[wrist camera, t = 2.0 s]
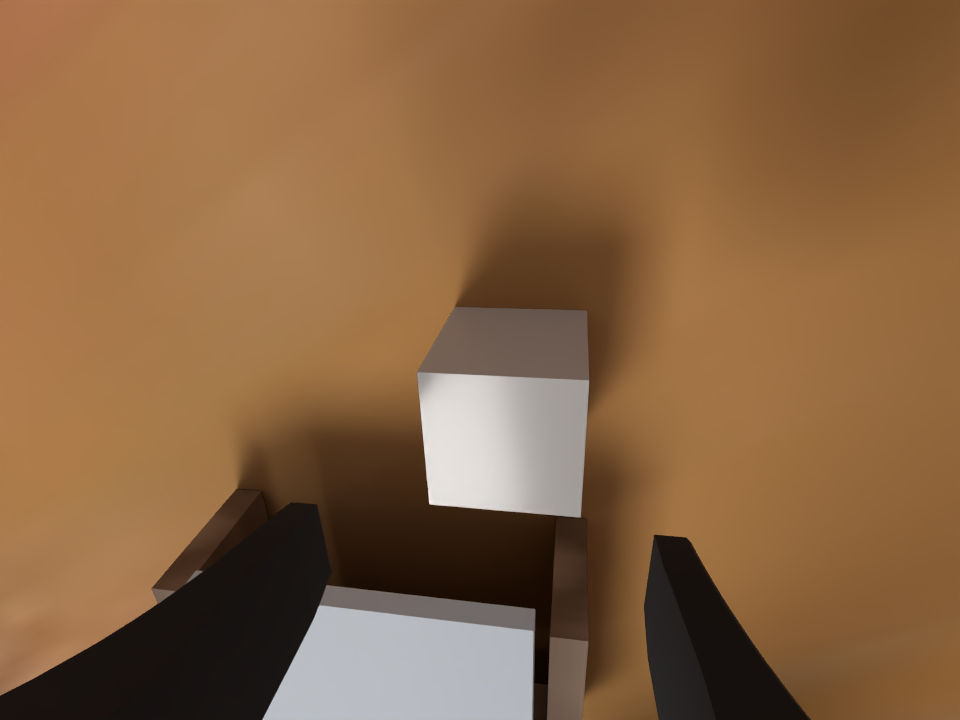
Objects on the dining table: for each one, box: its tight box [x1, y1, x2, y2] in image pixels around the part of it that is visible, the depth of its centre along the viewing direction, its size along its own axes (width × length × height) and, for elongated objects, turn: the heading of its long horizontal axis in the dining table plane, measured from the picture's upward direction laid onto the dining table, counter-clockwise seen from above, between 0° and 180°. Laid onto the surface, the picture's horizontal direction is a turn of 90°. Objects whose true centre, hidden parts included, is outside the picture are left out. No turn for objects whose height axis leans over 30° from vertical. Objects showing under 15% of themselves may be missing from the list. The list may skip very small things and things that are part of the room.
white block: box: [417, 307, 589, 518], centre depth 17 cm, size 4×4×5 cm
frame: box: [152, 489, 588, 720], centre depth 23 cm, size 15×12×6 cm
